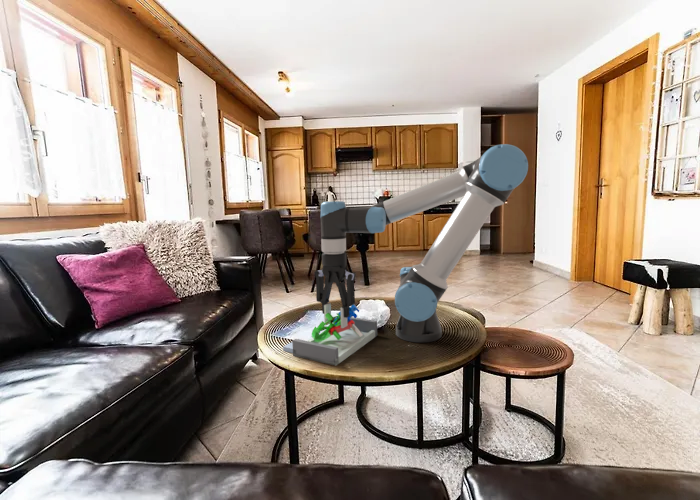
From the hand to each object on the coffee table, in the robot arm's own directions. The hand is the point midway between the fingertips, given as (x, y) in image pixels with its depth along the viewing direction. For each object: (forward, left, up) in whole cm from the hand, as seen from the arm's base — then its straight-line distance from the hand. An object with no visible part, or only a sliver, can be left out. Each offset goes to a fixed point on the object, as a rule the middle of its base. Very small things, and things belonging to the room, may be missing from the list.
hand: (336, 325), depth 113 cm
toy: (+2, -1, -7) cm, 7 cm away
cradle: (0, 0, -7) cm, 7 cm away
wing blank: (+10, +8, -7) cm, 15 cm away
